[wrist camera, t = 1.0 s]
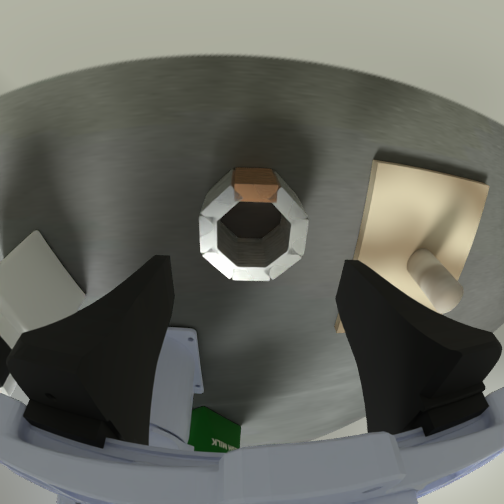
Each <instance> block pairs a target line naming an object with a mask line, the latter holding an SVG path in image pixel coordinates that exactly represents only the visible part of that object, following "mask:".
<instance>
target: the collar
mask: <svg viewBox="0 0 504 504" xmlns="http://www.w3.org/2000/svg"><path fill="white" fill-rule="evenodd" d="M239 201H244V202H271V203H272V204H273V205H274V206H275V207H276V208H277V209H278V210H279V211H280V212H281V223H280V224H279V225H278V226H277V227H276V228H274V229H273V230H272V231H271V232H270V233H268V234H267V235H266V236H265V237H263V238H262V239H260V238H238V237H236V236H235V235H234V234H233V233H232V232H231V231H230V230H229V229H228V228H227V227H226V226H225V225H224V224H223V223H222V222H221V217H222V216H223V215H225V214H226V213H227V212H228V211H229V210H230V209H231V208H232V207H234V206H235V205H236V204H237V203H238V202H239ZM308 223H309V219H308V216H307V214H306V212H305V210H304V208H303V206H302V204H301V202H300V200H299V199H298V197H297V195H296V194H295V192H294V191H293V190H292V189H291V188H290V187H289V186H288V185H287V184H286V182H285V181H284V180H283V179H282V178H281V177H280V176H279V175H278V174H277V172H276V171H275V170H274V171H273V172H272V169H268V168H243V167H236V171H235V170H234V169H231V170H230V171H229V172H228V173H227V174H226V175H225V176H224V177H223V178H222V179H221V180H220V181H218V182H217V183H216V184H215V185H214V186H213V187H212V188H211V189H210V190H209V191H208V192H207V194H206V197H205V200H204V203H203V206H202V209H201V212H200V215H199V230H200V253H202V256H203V257H204V258H205V259H206V260H208V261H209V262H210V263H211V264H212V265H213V266H215V267H216V268H217V269H218V270H219V271H220V272H222V273H223V274H224V275H225V276H226V277H227V278H229V279H230V278H231V277H232V276H233V280H246V281H270V278H271V279H275V278H276V277H277V276H279V275H280V274H281V273H283V272H284V271H285V270H287V269H288V268H289V267H291V266H292V265H293V264H295V263H296V262H297V261H299V260H300V259H301V258H302V257H301V255H304V250H305V244H306V237H307V230H308Z"/></svg>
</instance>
